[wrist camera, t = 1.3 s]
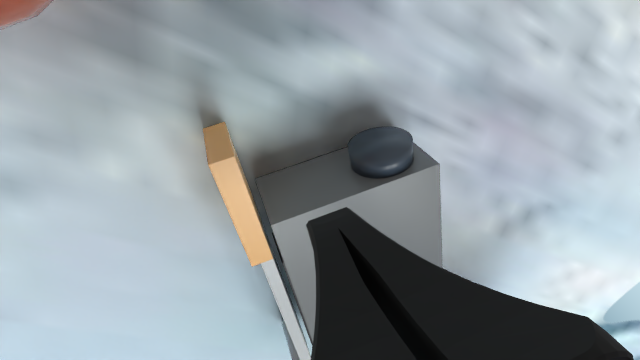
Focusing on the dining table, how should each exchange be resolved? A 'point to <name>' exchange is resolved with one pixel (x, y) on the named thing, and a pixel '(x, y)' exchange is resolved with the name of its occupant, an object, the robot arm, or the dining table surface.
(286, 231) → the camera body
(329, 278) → the robot arm
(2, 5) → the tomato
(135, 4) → the dining table surface
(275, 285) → the side door
